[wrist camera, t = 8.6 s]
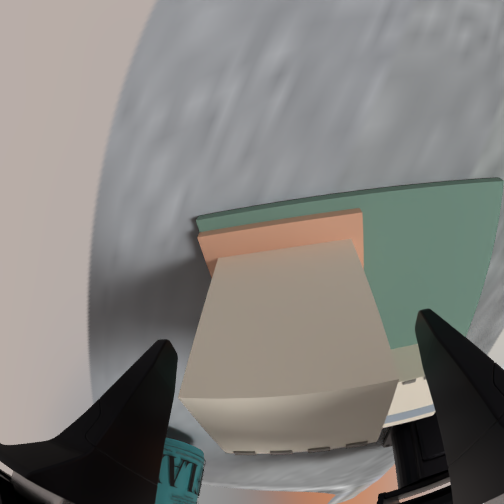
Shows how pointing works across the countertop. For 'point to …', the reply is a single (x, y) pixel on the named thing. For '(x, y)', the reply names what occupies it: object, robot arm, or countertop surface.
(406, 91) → the countertop surface
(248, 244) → the coaster
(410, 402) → the spiral notebook
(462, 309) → the mat
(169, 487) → the beverage bottle
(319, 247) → the stub
